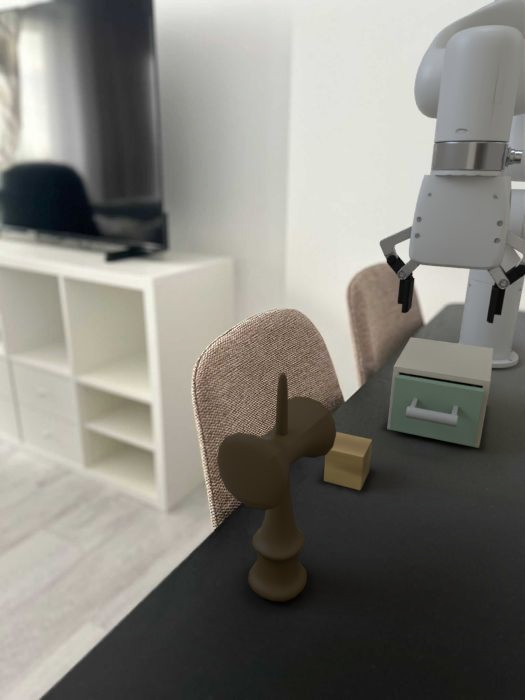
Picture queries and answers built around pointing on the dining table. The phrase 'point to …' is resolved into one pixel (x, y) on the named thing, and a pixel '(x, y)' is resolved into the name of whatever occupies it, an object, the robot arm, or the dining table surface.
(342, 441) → the block
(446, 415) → the green drawer
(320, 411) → the kendama
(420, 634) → the dining table surface
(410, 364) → the small drawer cabinet
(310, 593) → the dining table surface
